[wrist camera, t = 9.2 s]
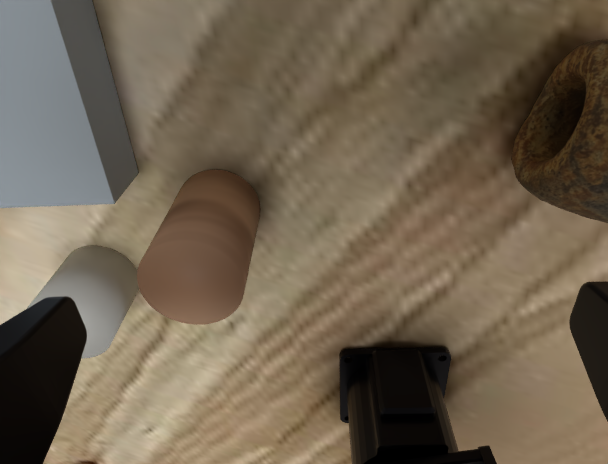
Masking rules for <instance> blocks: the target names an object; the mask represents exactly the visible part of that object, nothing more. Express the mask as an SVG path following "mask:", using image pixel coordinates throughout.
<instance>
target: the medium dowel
mask: <svg viewBox="0 0 608 464" xmlns="http://www.w3.org/2000/svg"><path fill="white" fill-rule="evenodd" d="M259 217H260V202H259V199H258V196H257V194H256V192H255V191H254V189H253V188H252V187H251V185H250V184H249V183H248V182H246V181H245V180H244V179H243V178H241V177H240V176H238V175H236V174H234V173H231V172H228V171H224V170H206V171H202V172H199V173H197V174H195V175H193V176H192V177H190V178H189V179H188V180H187V181H186V182H185V183H184V185H183V186H182V188H181V190H180V191H179V193H178V195H177V197H176V199H175V201H174V202H173V204H172V206H171V208H170V210H169V211H168V213H167V215H166V217H165V219H164V220H163V222H162V224H161V226H160V228H159V229H158V231H157V233H156V235H155V237H154V238H153V240H152V242H151V244H150V246H149V248H148V249H147V251H146V253H145V255H144V257H143V258H142V260H141V262H140V264H139V267H138V270H137V282H138V286H139V289H140V292H141V293H142V295H143V297H144V298H145V300H146V301H147V302H148V303H149V304H150V305H151V306H152V307H153V308H154V309H155V310H156V311H158V312H159V313H161V314H162V315H164V316H166V317H168V318H170V319H173V320H175V321H179V322H182V323H187V324H209V323H214V322H217V321H220V320H222V319H225V318H226V317H228V316H230V315H231V314H232V313H233V312H234V311H235V310H236V309H237V308H238V307H239V305H240V303H241V301H242V299H243V295H244V290H245V285H246V280H247V276H248V271H249V266H250V261H251V256H252V251H253V246H254V241H255V237H256V232H257V227H258V222H259Z"/></svg>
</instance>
